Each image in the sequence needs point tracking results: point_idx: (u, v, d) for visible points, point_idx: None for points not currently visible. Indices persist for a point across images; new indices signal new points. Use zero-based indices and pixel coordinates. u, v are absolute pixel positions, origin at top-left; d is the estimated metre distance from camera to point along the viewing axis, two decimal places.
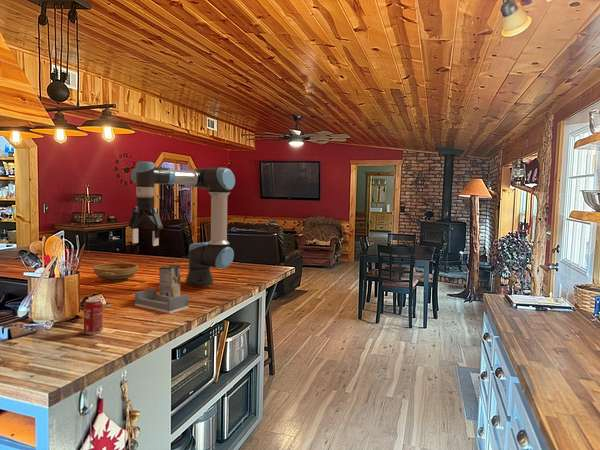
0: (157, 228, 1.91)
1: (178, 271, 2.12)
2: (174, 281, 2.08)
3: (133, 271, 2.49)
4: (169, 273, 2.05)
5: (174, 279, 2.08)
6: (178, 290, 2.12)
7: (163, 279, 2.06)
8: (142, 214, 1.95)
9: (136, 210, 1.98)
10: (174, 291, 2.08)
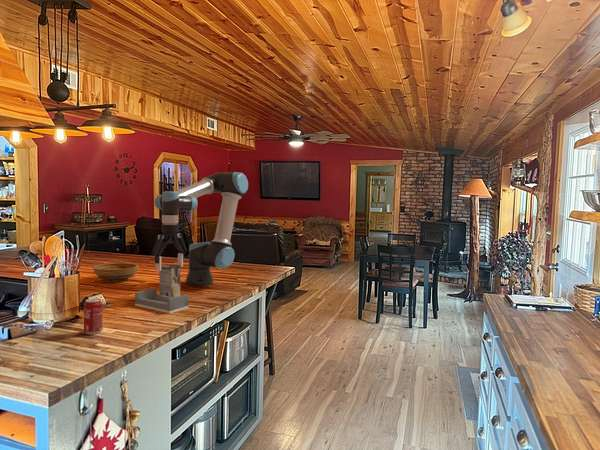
0: None
1: (178, 271, 2.12)
2: (174, 281, 2.08)
3: (133, 271, 2.49)
4: (169, 273, 2.05)
5: (174, 279, 2.08)
6: (178, 290, 2.12)
7: (163, 279, 2.06)
8: None
9: None
10: (174, 291, 2.08)
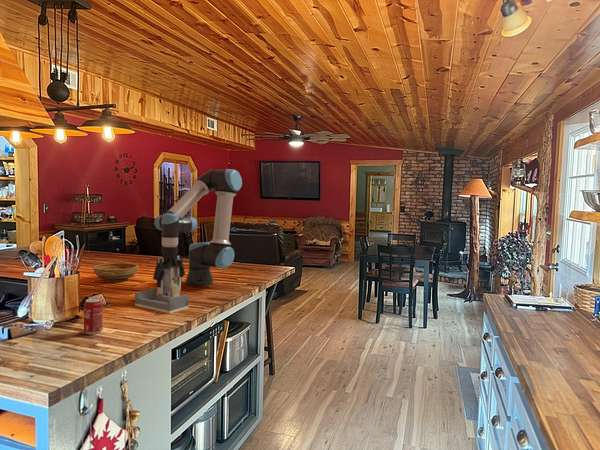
0: None
1: (177, 271, 2.11)
2: (174, 281, 2.08)
3: (133, 271, 2.49)
4: (168, 273, 2.05)
5: (173, 279, 2.08)
6: (177, 290, 2.12)
7: (163, 279, 2.06)
8: None
9: None
10: (173, 291, 2.08)
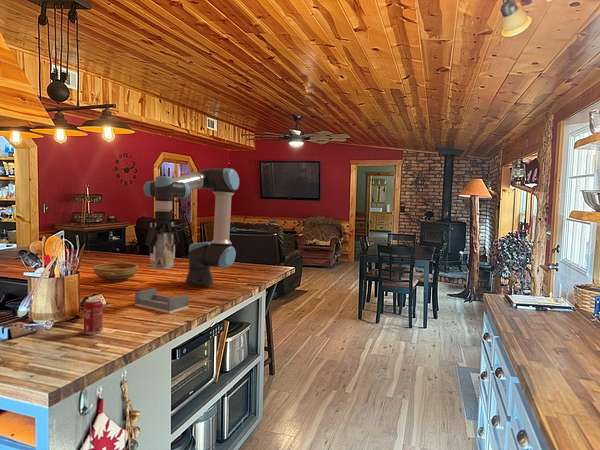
0: None
1: (171, 238, 2.00)
2: (167, 247, 1.97)
3: (133, 271, 2.49)
4: (161, 239, 1.93)
5: (167, 246, 1.96)
6: (171, 258, 2.00)
7: (155, 245, 1.94)
8: None
9: None
10: (166, 258, 1.96)
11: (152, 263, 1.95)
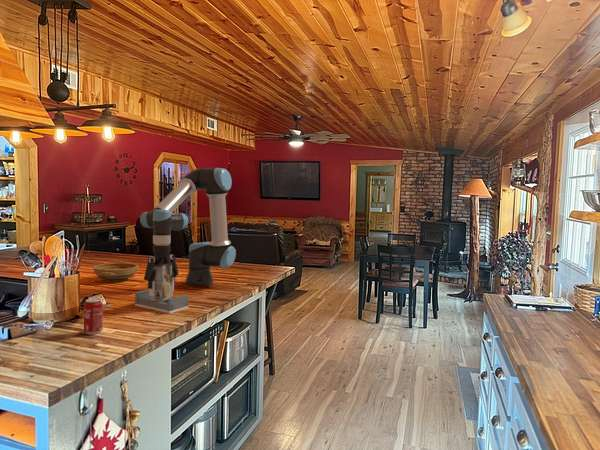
0: None
1: (170, 269, 1.98)
2: (166, 279, 1.95)
3: (133, 271, 2.49)
4: (160, 271, 1.91)
5: (165, 278, 1.94)
6: (170, 289, 1.99)
7: None
8: None
9: None
10: (165, 290, 1.94)
11: None
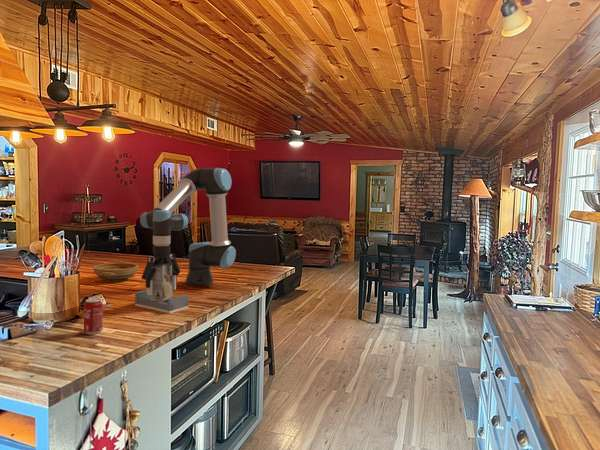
0: (142, 277, 1.89)
1: (170, 269, 1.98)
2: (166, 279, 1.95)
3: (133, 271, 2.49)
4: (160, 271, 1.91)
5: (165, 278, 1.94)
6: (170, 289, 1.99)
7: (154, 277, 1.92)
8: None
9: None
10: (165, 290, 1.94)
11: (151, 295, 1.93)
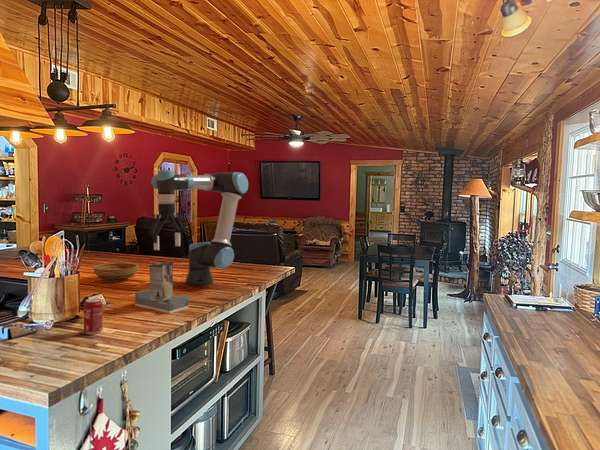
0: (149, 233, 2.00)
1: (170, 269, 1.98)
2: (166, 279, 1.95)
3: (133, 271, 2.49)
4: (160, 271, 1.91)
5: (165, 278, 1.94)
6: (170, 289, 1.99)
7: (154, 277, 1.92)
8: None
9: None
10: (165, 290, 1.94)
11: (151, 295, 1.93)
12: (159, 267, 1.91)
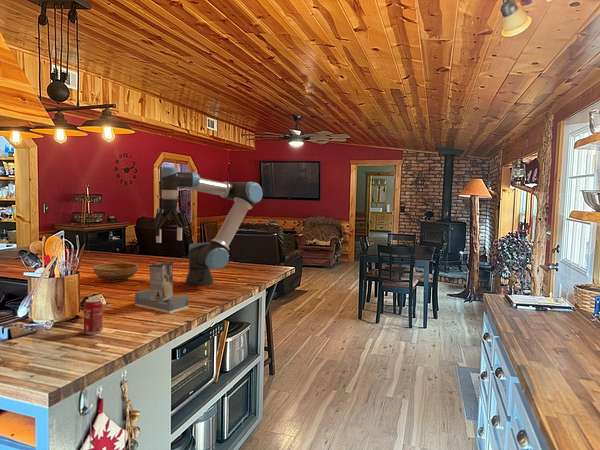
0: (152, 226, 2.11)
1: (170, 269, 1.98)
2: (166, 279, 1.95)
3: (133, 271, 2.49)
4: (160, 271, 1.91)
5: (165, 278, 1.94)
6: (170, 289, 1.99)
7: (154, 277, 1.92)
8: None
9: None
10: (165, 290, 1.94)
11: (151, 295, 1.93)
12: (159, 267, 1.91)
